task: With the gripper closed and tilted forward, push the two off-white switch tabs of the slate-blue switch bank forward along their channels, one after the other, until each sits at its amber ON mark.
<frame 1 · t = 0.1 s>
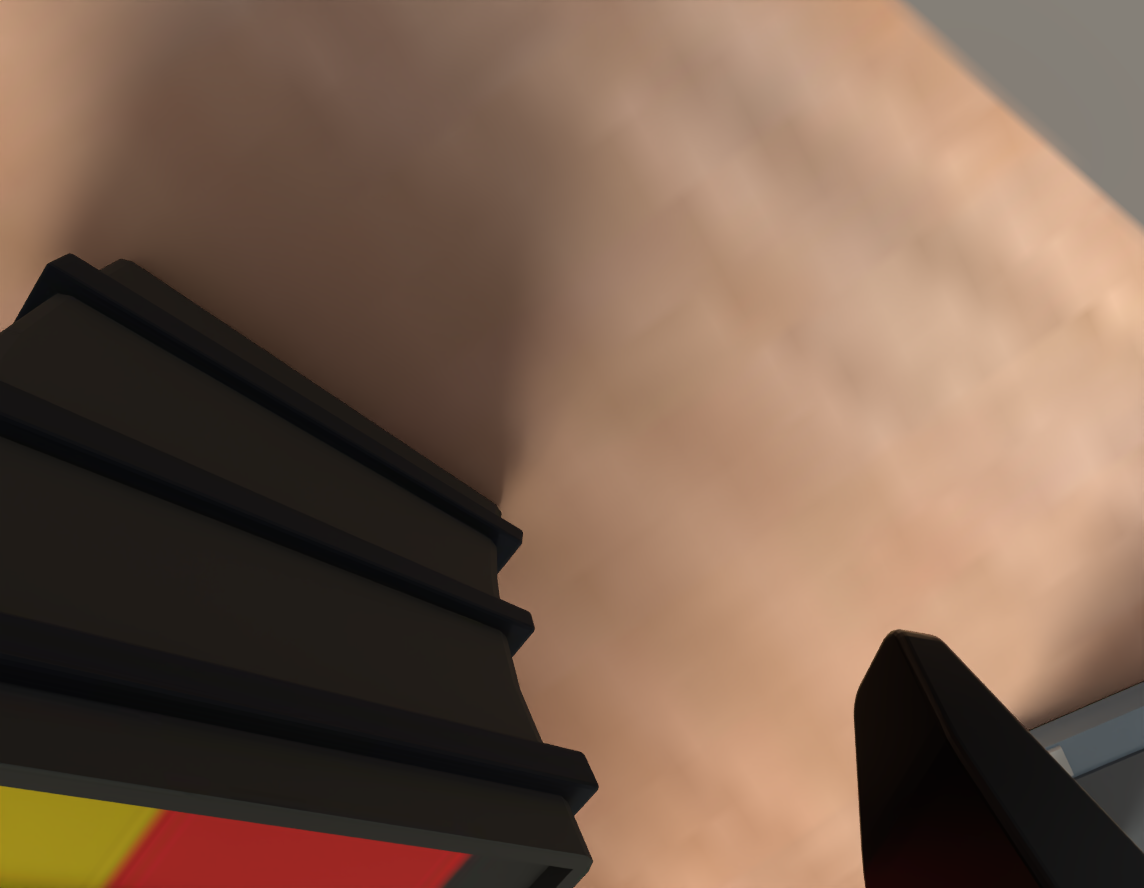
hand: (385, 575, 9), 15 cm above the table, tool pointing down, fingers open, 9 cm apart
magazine: (333, 455, 25), on the table
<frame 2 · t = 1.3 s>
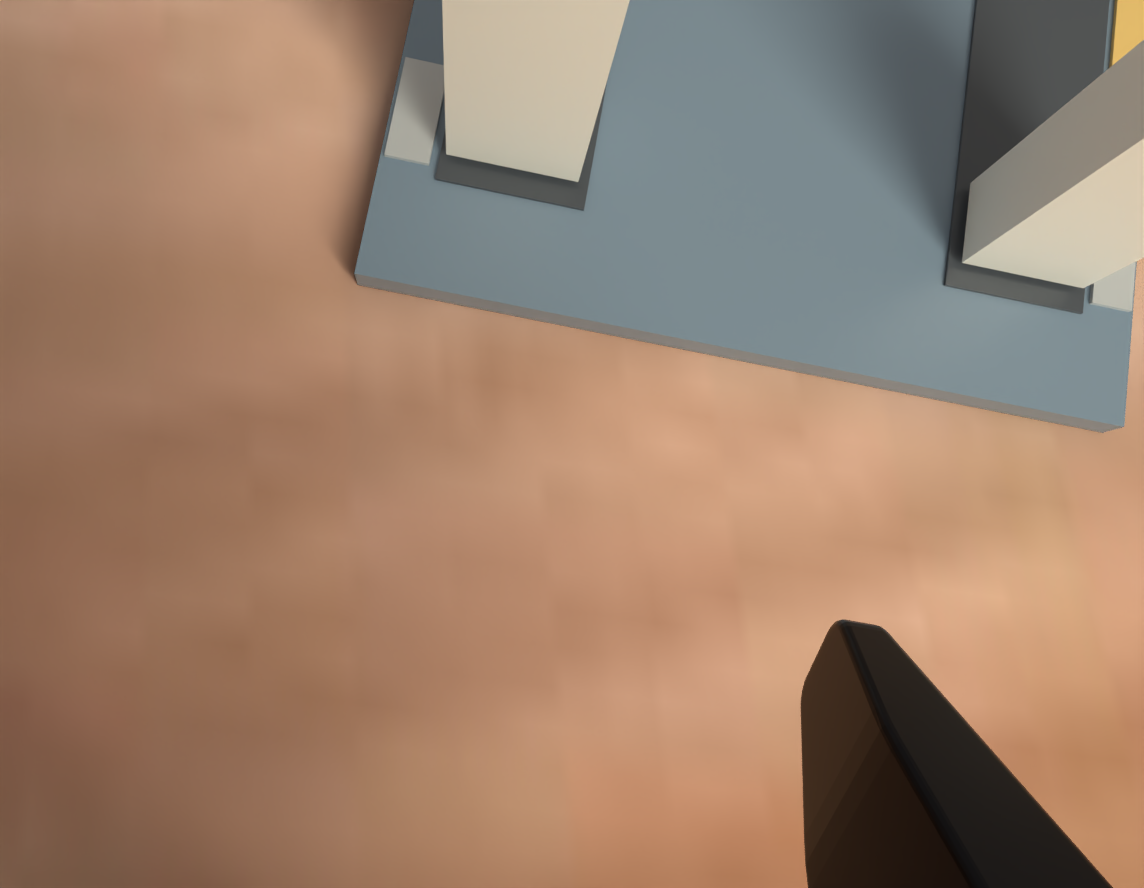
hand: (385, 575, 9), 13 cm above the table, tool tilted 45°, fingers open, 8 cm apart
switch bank: (775, 126, 25), on the table
white tab 1: (535, 12, 18), point 6 cm above the table, slide at 0.0 cm
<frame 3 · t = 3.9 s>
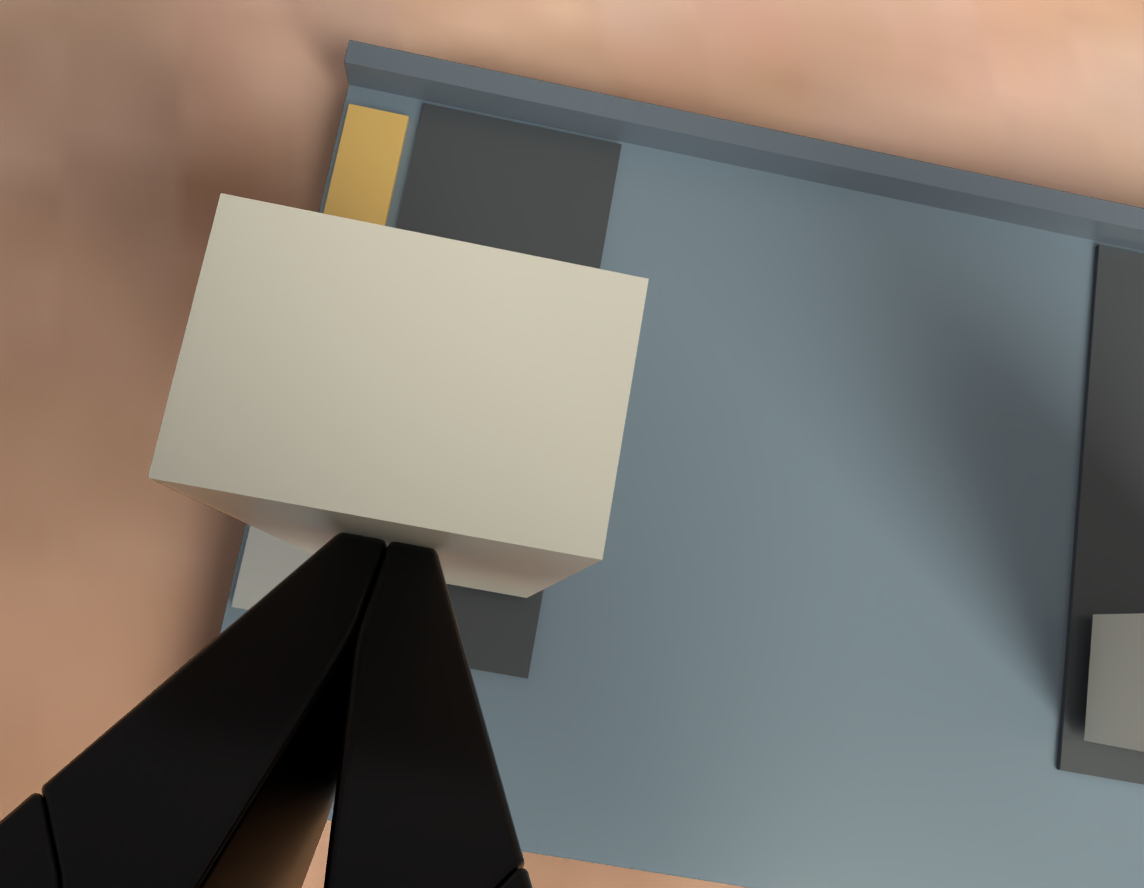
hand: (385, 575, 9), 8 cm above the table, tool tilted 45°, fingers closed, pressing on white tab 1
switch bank: (807, 512, 17), on the table
white tab 1: (432, 473, 11), point 6 cm above the table, slide at 0.7 cm, touching gripper
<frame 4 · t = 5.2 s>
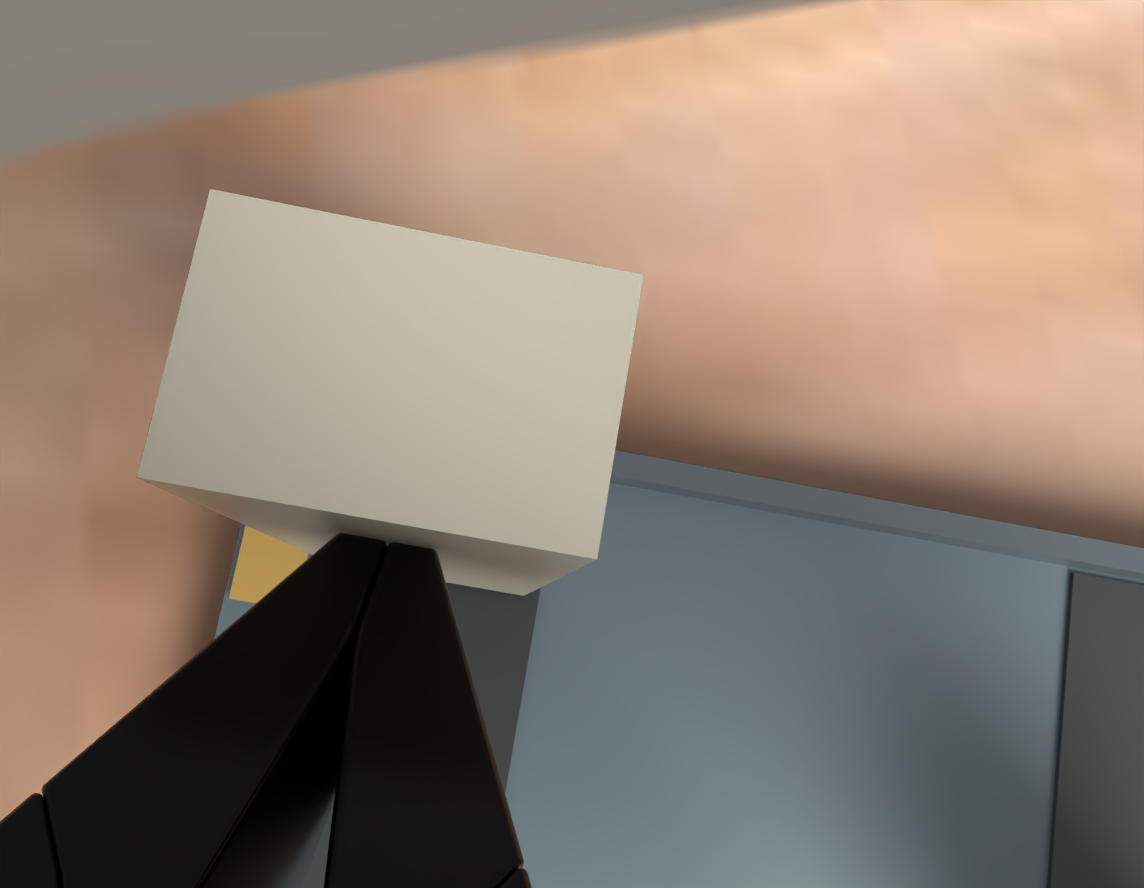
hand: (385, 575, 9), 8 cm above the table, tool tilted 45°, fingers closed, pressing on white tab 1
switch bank: (760, 870, 16), on the table
white tab 1: (427, 471, 11), point 6 cm above the table, slide at 6.6 cm, touching gripper
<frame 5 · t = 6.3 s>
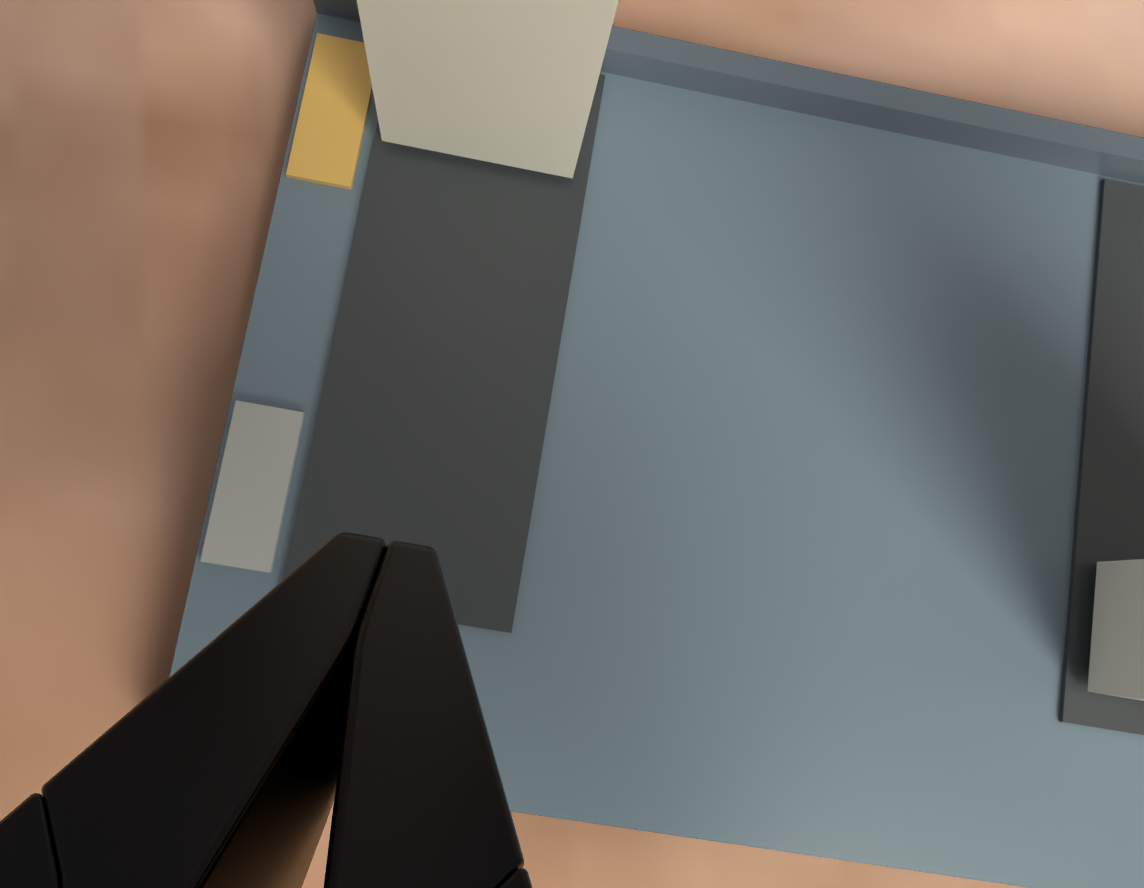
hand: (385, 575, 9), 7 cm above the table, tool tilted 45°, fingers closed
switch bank: (801, 459, 17), on the table
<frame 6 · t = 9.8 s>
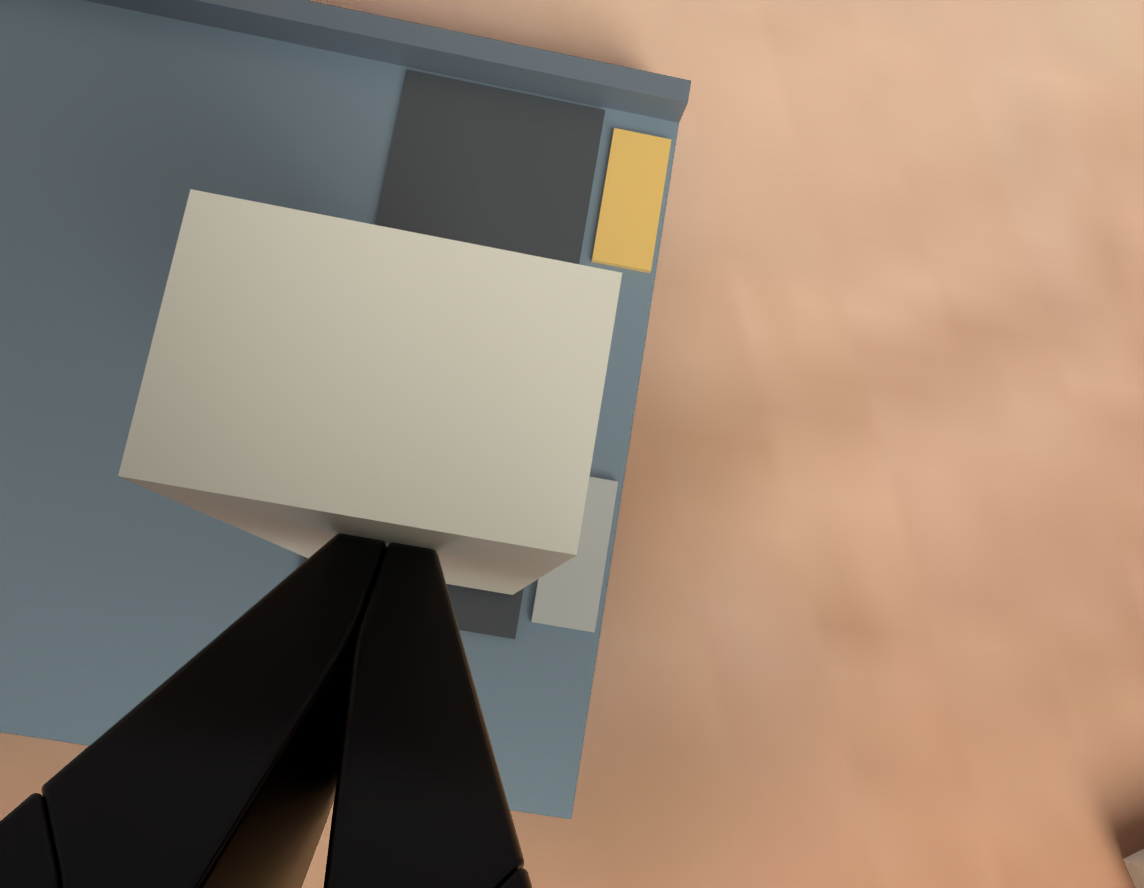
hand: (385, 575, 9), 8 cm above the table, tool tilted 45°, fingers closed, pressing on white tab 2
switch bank: (85, 347, 17), on the table
white tab 2: (413, 470, 11), point 6 cm above the table, slide at 0.1 cm, touching gripper
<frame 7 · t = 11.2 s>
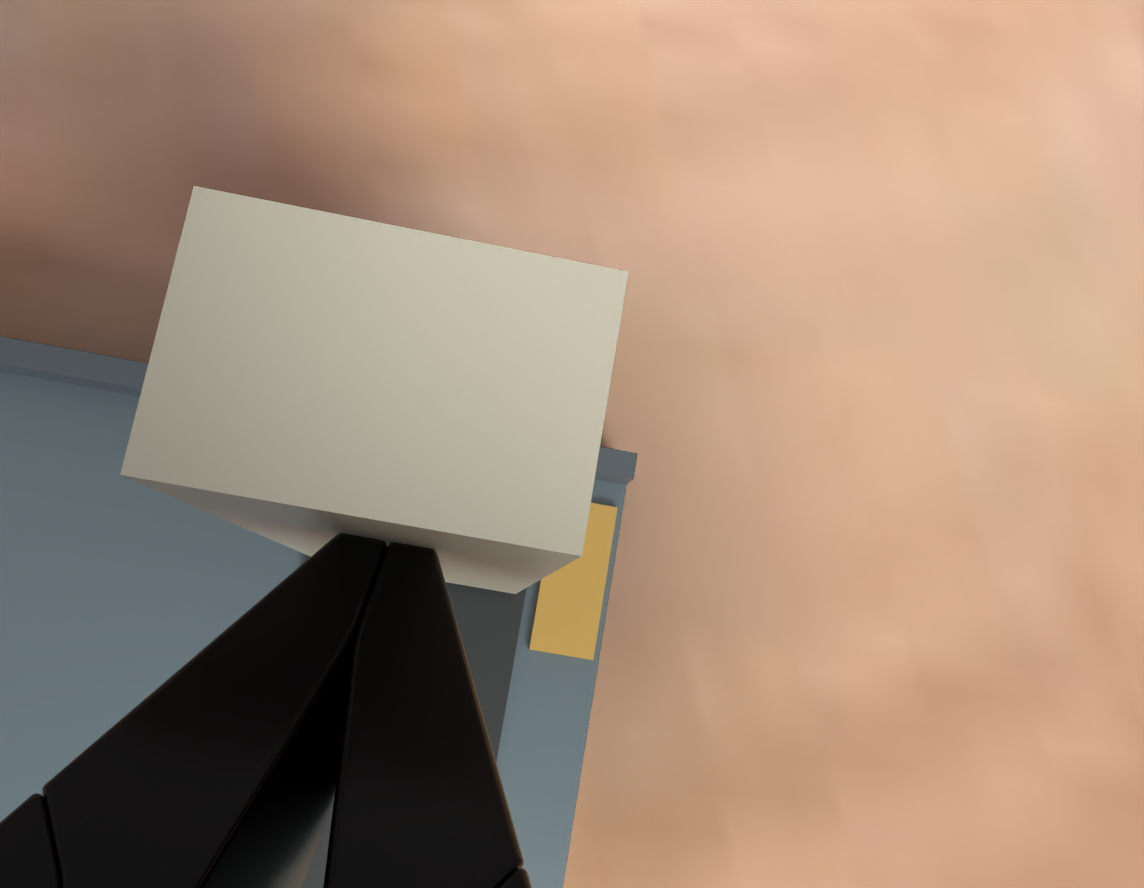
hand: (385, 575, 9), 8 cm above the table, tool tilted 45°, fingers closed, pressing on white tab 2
white tab 2: (416, 469, 11), point 6 cm above the table, slide at 6.6 cm, touching gripper
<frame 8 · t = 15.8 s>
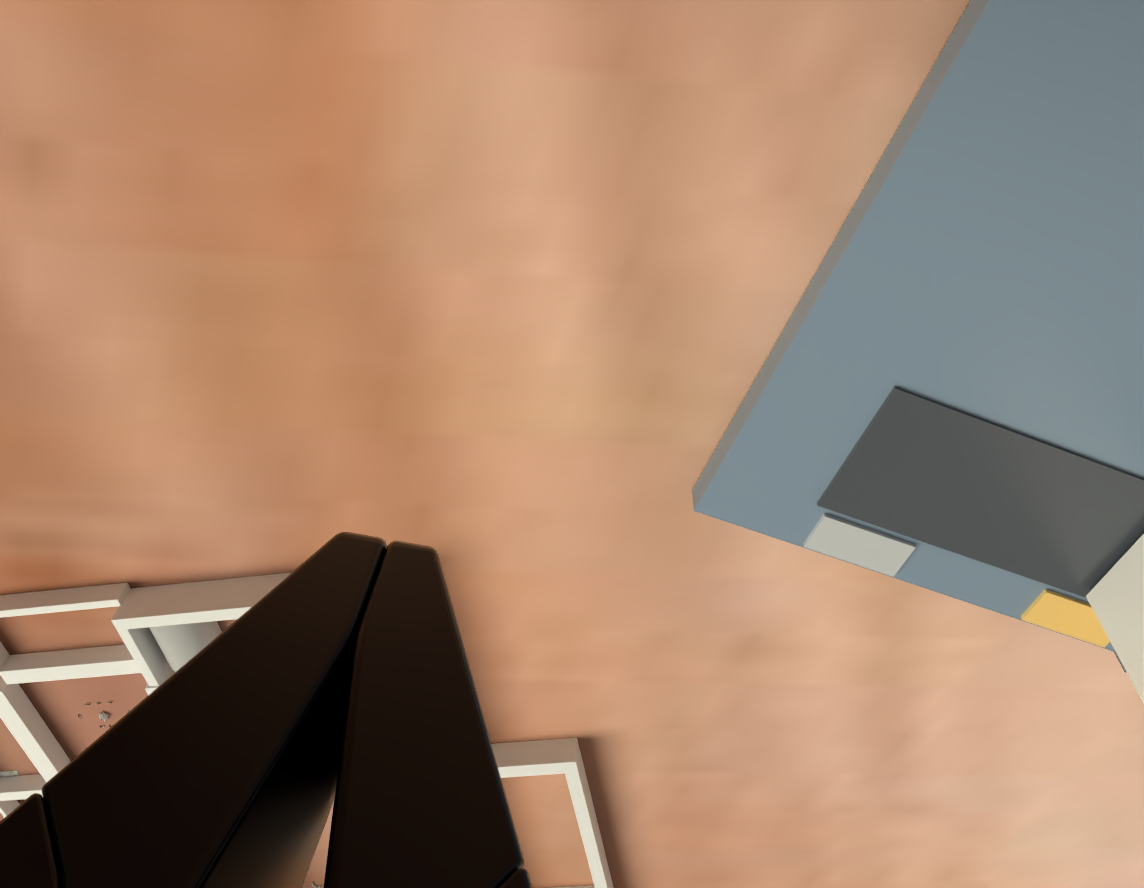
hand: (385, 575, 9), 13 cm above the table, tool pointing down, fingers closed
floor plan model: (387, 771, 32), on the table
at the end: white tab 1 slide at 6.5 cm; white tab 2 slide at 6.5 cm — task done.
